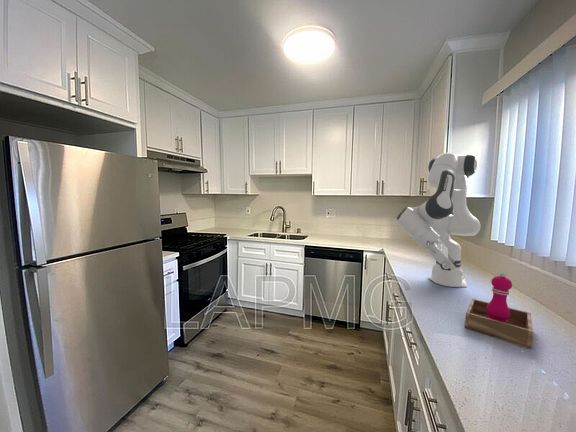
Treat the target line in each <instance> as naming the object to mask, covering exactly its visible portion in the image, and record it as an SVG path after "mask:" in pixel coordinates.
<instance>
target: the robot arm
mask: <svg viewBox="0 0 576 432" xmlns="http://www.w3.org/2000/svg"><path fill="white" fill-rule="evenodd" d="M478 168H479V160H478V157H477V156H476V155H474V154H467V153H466V154H454V153H452V152H444V153H441V154H439V155H438V156H436V157H433V158H432V159H431V160H430V161H429V162H428V176H427V182H428V183H429V185H430V186H432V187H433V188H435V193H434V194H432V195H431V196H430V197H429V198H428V199H427V200H425V202H423V203H421V205H418V206H413V207H409V206H405V207H404V208H403V209H402V210H401V211H400V212H399V214H398V215H397V216H396V220H397V223H398V225H399V226H400V227H401V228H402V230H404V232H405V233H406V234H407V235H409V236H410V237H412V239H413V241H414V242H415V243H416V244H417V245H418V246H419V247H420V248H421V249H422V250H424V249H426V250H427V252H428V253H429V254H430V255H431V257H433V259H434V260H435V264H433V265H432V270H431V275H429V276H428V278H427V279H428V280H430V281H432V282H433V283H435V284H437V285H441V286H445V287H450V288H451V287H452V288H467V286H468V285H467V281H466V279H465V277H464V271H463V269H462V259H461V257H462V246H461V245H460V243H459V242H457V241H455V240H453V239H452V237H451V235H452V236H460V237H461V236H462V237H469V236H470V237H473V236H476V235H477V234H479V232H480V230H481V226H482V225H481V222H480V220H479V219H478V218H477V217H476V216H474V215H473V214H472V213H471V212H470V210H469V208H468V205H467V193H468V191H467V190H468V179H469V178H470V177H471V176H473V175H474V174H475V173H476V172H477V171H478Z"/></svg>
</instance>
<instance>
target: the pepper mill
mask: <svg viewBox="0 0 576 432" xmlns="http://www.w3.org/2000/svg"><path fill="white" fill-rule="evenodd" d="M490 282H491V286H492V287H491V288H492V289H491V292H492V298H491V300H490V301H488V302H489V304H488V305H487V306H486V312H487V314H488V315H487V316H486V318H490V319H493V320H497V321H500V322H504V323H507V319H508V318H510V310H509V308H510V307H509V306H508V304H507V303H508V302H507V298H508V296H509V295H510V290H511V289H512V287H513V282H512V280H511V279H509V278H508V277H506V273H504V272H499V275H497V276H494V277H493V278H492V279H491V281H490ZM508 307H509V308H508Z"/></svg>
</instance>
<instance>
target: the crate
mask: <svg viewBox="0 0 576 432" xmlns="http://www.w3.org/2000/svg"><path fill="white" fill-rule="evenodd" d="M489 302H490V301H484V300H479V299H476V298H471V300H470V302H469V305H468V307H467V309H466V312H465V318H464V319H465V320H464V321H465V322H464V329H466V330H469V331H472V332H476V333H478V334H479V333H480V334H482V335H485V336H489V337H491V338H495V339H498V340H501V341H504V342H507V343H511V344H513V343H514V344H513V345H516V344H517V346H520V347H524V348H525V349H526V348H527V349H528V350H532V343H533V336H534V328H533V321H532V319H533V318H532V313H531V312H528V311H524V310H520V309H516V308H513V307H509V306H508V308H509V310H510V318H508V319H507V323H504V322H500V321H497V320H493V319H490V318H486V316H487V315H488V314H487V312H486V306H487V305H488V304H489Z"/></svg>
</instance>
